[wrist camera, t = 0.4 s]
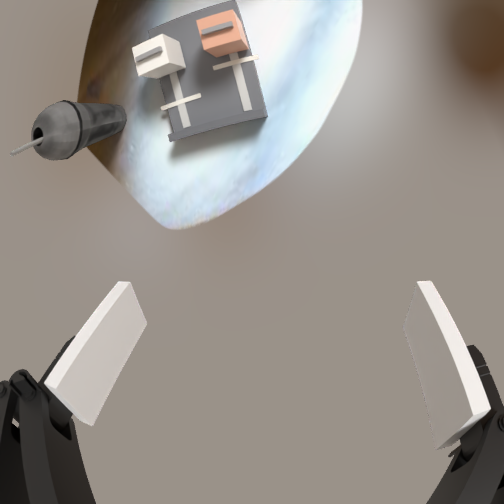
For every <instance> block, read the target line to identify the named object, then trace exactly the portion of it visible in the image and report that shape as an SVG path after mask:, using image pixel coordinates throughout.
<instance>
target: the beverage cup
mask: <svg viewBox="0 0 504 504" xmlns="http://www.w3.org/2000/svg"><path fill="white" fill-rule="evenodd" d="M125 124H126V113H125V110H124V109H123V108H122V107H121V106H119V105H112V104H97V103H76V102H70V101H66V100H63V101H60V102H57V103H55V104H53V105H50V106H48V107H47V108H46V109H45V110H43V111H42V112H41V113H40V114H39V115H38V117H37V119H36V120H35V122H34V125H33V128H32V133H31V139H32V142H30V143H28V144H26V145H24V146H22V147H20V148H18V149H15V150H14V151H12V152H11V153H10V155H11V156H14V155H16V154H18V153H20V152H22V151H24V150H26V149H28V148H30V147H32V146H33V147H34V149H35V150H36V152H37V153H38V154H39V155H40V156H42V157H43V158H46V159H49V160H63V159H68V158H69V157H71V156H73V155H74V154H75V153H76V152H78V151H79V150H81V149H82V148H85V147H87V146H89V145H91V144H93V143H96V142H98V141H100V140H103V139H105V138H107V137H110V136H112V135H114V134H115V133H118V132H120V131H121V130H122V129H123V128H124V126H125Z"/></svg>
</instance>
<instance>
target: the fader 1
mask: <svg viewBox="0 0 504 504" xmlns="http://www.w3.org/2000/svg"><path fill="white" fill-rule="evenodd" d="M132 50H133V54H134V59H135V63H136V68H137V72H138V76H142V77H150V78H157V79H158V78H161V77H163V76H165V75H168V74H170V73H173V72H176V71H178V70H181V69H184V68H186V66H185V62H184V58H183V54H182V50H181V46H180V42H179V41H177V40H175V39H173V38H171V37H168V36H166V35H164V34H160V35H158V36H156V37H154V38H151V39H149V40H147V41H145V42H143V43H141V44H139V45H137V46H135V47H133V48H132Z"/></svg>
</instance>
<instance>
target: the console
mask: <svg viewBox="0 0 504 504" xmlns="http://www.w3.org/2000/svg"><path fill="white" fill-rule="evenodd" d="M232 9H233V11H234V12H235V13H236V15H237V17H238V18H239V20H240V21H241V23H242V27H243V30H244V33H245V37H246V40H247V44H248V47H249V49H247V50H243V51H239V52H235V53H231V54H227V55H224V56H220V57H217V58H216V57H215V56H213V55H211V54H210V53H208V52H207V51H205V50H204V48H203V44H202V41H201V37H200V33H199V29H198V26H197V22H196V20H199V19H202V18H205V17H208V16H211V15H214V14H218V13H221V12H225V11H228V10H232ZM148 32H149V37H150V39H151V38H154V37H156V36H158V35H160V34H164V35H166V36H168V37H171V38H173V39H175V40H177V41H179V42H180V46H181V50H182V54H183V58H184V62H185V66H186V68H184V69H181V70H178V71H176V72H173V73H170V74H168V75H165V76H163V77H161V78H160V82H161V86H162V90H163V94H164V98H165V101H166V105H164V106H161V110H162V111H163V110H166V109H168V113H169V116H170V120H171V124H172V127H173V131H174V133H172V134H169V135H168V137H169V141H170V142H172V141H175V140H179V139H182V138H185V137H188V136H191V135H195V134H198V133H202V132H205V131H209V130H212V129H216V128H220V127H224V126H228V125H232V124H236V123H240V122H244V121H249V120H253V119H258V118H262V117H267V116H268V115H267V111H266V107H265V103H264V98H263V95H262V91H261V87H260V83H259V79H258V75H257V71H256V68H255V64H254V60H256V59H259V57H258V54H257V55H253V56H252V53H251V49H250V46H249V42H248V39H247V35H246V32H245V28H244V25H243V21H242V18H241V15H240V12H239V8H238V5H237V3H236V1H235V0H231V1H227V2H224V3H220V4H217V5H213V6H210V7H207V8H204V9H201V10H198V11H195V12H192V13H190V14H187V15H184V16H182V17H179V18H176V19H174V20H171V21H169V22H167V23H164V24H162V25H160V26H157V27H155V28H153V29H151V30H149V31H148Z"/></svg>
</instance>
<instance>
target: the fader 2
mask: <svg viewBox="0 0 504 504" xmlns="http://www.w3.org/2000/svg"><path fill="white" fill-rule="evenodd" d="M196 22H197V26H198V29H199V33H200V37H201V41H202V44H203V48H204V50H205V51H207V52H208V53H210V54H211V55H213V56H215V57H216V58H217V57H220V56H224V55H227V54H231V53H235V52H239V51H243V50H247V49H249V47H248V44H247V40H246V37H245V33H244V30H243V27H242V23H241V21H240V20H239V18H238V17H237V15H236V13H235V12H234V11H233V9H232V10H228V11H225V12H221V13H218V14H214V15H211V16H208V17H205V18H202V19H199V20H196Z"/></svg>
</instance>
